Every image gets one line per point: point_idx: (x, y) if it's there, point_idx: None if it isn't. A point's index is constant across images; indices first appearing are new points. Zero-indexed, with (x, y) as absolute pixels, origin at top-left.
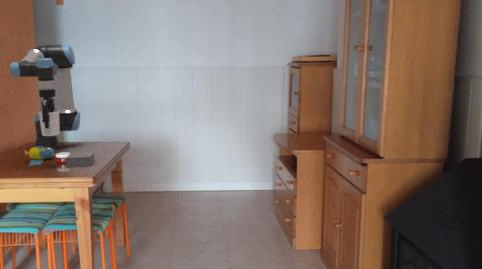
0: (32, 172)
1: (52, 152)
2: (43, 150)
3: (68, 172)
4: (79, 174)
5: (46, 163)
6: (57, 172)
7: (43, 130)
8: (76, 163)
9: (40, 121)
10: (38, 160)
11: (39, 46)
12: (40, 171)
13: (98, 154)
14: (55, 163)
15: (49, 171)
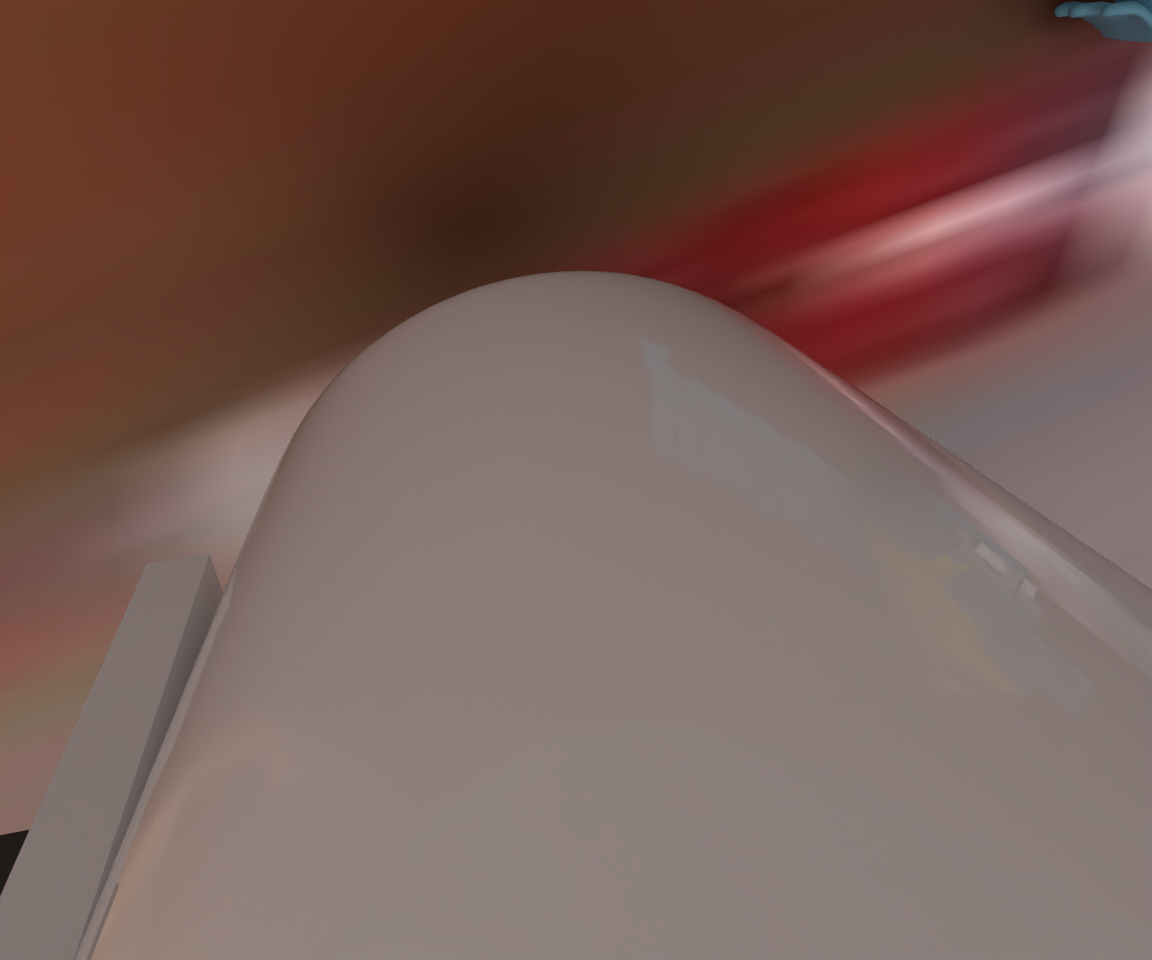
0: (33, 20)
1: (1137, 31)
2: None
3: (114, 606)
4: (22, 765)
5: (764, 12)
6: (94, 463)
7: (242, 553)
8: None
9: (226, 789)
10: None
11: None
12: (131, 152)
13: (1147, 580)
14: (730, 188)
15: (147, 314)
